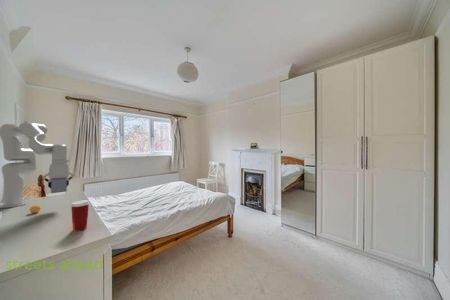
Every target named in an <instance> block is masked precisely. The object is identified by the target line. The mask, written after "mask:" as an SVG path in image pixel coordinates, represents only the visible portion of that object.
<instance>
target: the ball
mask: <svg viewBox="0 0 450 300" xmlns="http://www.w3.org/2000/svg"><path fill="white" fill-rule="evenodd" d="M41 209H42V207H41V205H38V204H34V205H32V206H30V208H29V212H30V213H31V214H36V213H39V212H40V211H41Z"/></svg>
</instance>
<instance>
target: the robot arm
mask: <svg viewBox="0 0 450 300" xmlns="http://www.w3.org/2000/svg"><path fill="white" fill-rule="evenodd" d="M47 133H48V127H47V126H46V125H45V124H42V123H37V122H31V121H29V122H28V121H27V122H21V123H20V124H17V123H5V124H2V125H1V126H0V139H1V141H2V142H1V143H2V151H3V158H4V160H6V161H9V163H5V164H3V165H2V166H1V174H2V179H3V202H2V204H1V205H0V208H1V209H8V208H9V209H10V208H15V207H20V206H24V205H26V204H27V201H24V188H25V187H24V183H25V182H24V179H23V177H21V176H23V175H24V176H25V175H32V174H34V173H35V172H36V171H37V160H36V158H37V157H36V155H39V156H40V155H41V156H42V155H43V156H44V155H46V156H47V155H51V164H49V168H48V172H47V173H46V174H44V175H42V176H41V179H43V180H44V181H46V183H47V188H49V189H51V180H52V179H58V178H67V187H69V185H70V181H71V180H72V179H73V178H74V176H75V174H74V173H72V172H70V170H69V164H68V163H70V160H69V159H67V158H68V157H67V155H68V154H67V153H68V146H67V145H66V144H58V143H57V144H56V143H55V144H54V143H41V142H43V141H44V140H45V139H46V138H47V136H46V134H47ZM17 137H27V139H28V142H27V143H28V147H29V148H28V147H25V148H24V147H23V148H22V144H21V140H20V139H19V138H17ZM19 161H20V162H19ZM69 176H70V177H69ZM47 177H48V178H49V179H48V178H47Z"/></svg>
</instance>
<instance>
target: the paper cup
mask: <svg viewBox="0 0 450 300" xmlns="http://www.w3.org/2000/svg"><path fill="white" fill-rule="evenodd" d="M89 205H90V201H89V200H87V199H83V200H77V201H73V202H71V204H70V207H71V220H72V221H71V222H72V223H71V224H72V231H73V232H81V231H83V230H86V229H87V228H88V217H89V207H90V206H89Z"/></svg>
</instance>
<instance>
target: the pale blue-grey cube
mask: <svg viewBox="0 0 450 300" xmlns="http://www.w3.org/2000/svg"><path fill="white" fill-rule="evenodd" d="M67 191H68V189H67V178H58V179H52V180H51V188H50V193H51V194H57V193H65V192H66V193H67Z"/></svg>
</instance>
